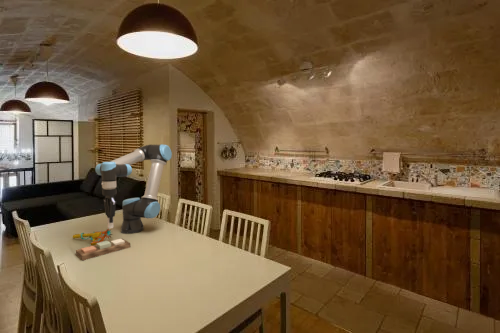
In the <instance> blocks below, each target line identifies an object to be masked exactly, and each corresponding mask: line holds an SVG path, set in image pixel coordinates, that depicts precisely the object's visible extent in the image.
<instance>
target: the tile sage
mask: <svg viewBox="0 0 500 333" xmlns="http://www.w3.org/2000/svg"><path fill="white" fill-rule="evenodd" d="M96 246H97V248H98V249H104V248H108V247H111V243H110V241H108V240H104V241H103V242H99V243H96Z"/></svg>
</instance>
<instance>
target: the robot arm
mask: <svg viewBox="0 0 500 333" xmlns="http://www.w3.org/2000/svg"><path fill="white" fill-rule="evenodd" d="M172 156H173V153H172V150H171V147H170V146H169V145H168V144H162V143H161V144H146V145H143V146H141V147H138V148H136V149H134V150H133V151H132V152H130V153H128V154H125V155H122V156H120V157H118V158H115V159H113V160H110V161H104V162H103V161H102V163H98V164H97V165H95V173H96V174H97V175H98V176H101V184H100V185H101V192H102V193H101V194H102V196H105V198H103V199H102V200H103V204H104V214H105V216H106V217H107V229H113V228H114V217H115V216H116V209H117V208H116V207H117V200H115V195H117V178H119V177H121V178H122V177H128V176H130V175H131V174H132V172H133V168H132V166H131V165H134V164H135V163H138V162H143V161H150V163H151V165H150V169H149V174H148V178H147V182H146V186H145V191H144V195H143V196H141V197H131V198H127V199H124V200H123V201H122V207H121V208H122V223H121V226H120V232H121V233H122V234H126V235H127V234H128V235H129V234H130V235H131V234H136V233H140V232H142V231H144V229H145V228H144V227H145V226H144V223H143V221H142V219H141V218H143V219H154V218H156V217H157V216H158V215H159V213H160V211H161V204H160V202H159V198H158V193H159V189H160V186H161V180H162V176H163V171H164V167H165V165H167V163H168V162H169V161H170V160H171V159H172Z"/></svg>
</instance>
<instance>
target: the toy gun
mask: <svg viewBox="0 0 500 333" xmlns="http://www.w3.org/2000/svg"><path fill="white" fill-rule="evenodd" d="M112 236H113V233H112V228H106V230H103V231H102V230H101V231H93V232H90V233H84V232H81V233H77V234H76V233H75V234H73V235H72V239H73V240H75V239H82V240H85V238H86V240H90V241H92V242H90V243H89V245H90V246H94V245H96V243H99V242H103V241H105V238H106V239H107V238H108V239H110V238H112Z"/></svg>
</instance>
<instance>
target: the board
mask: <svg viewBox="0 0 500 333" xmlns="http://www.w3.org/2000/svg"><path fill="white" fill-rule="evenodd" d="M121 239H122V240H124V241H125V243H123V244H119V245H115V246H114V245H112V244H111V247H108V248H104V249H98V248H97V246H96V245H94V247H95V248H96V251H92V252H89V253H85V254H84V253H83V252H82V251H81V248H79V249H78V248H77V249H75V255H76V256H77V257H78V258H79V259H80V260H81V261H86V259H87V260H90V259H93V258H96V257H101V256H104V255H108V254H112V253H115V252H119V251H123V250H125V249H130V248H131V242H129V241H128V240H126V239H124V238H121ZM111 241H112V240H110V241H109V242H110V243H111Z"/></svg>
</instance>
